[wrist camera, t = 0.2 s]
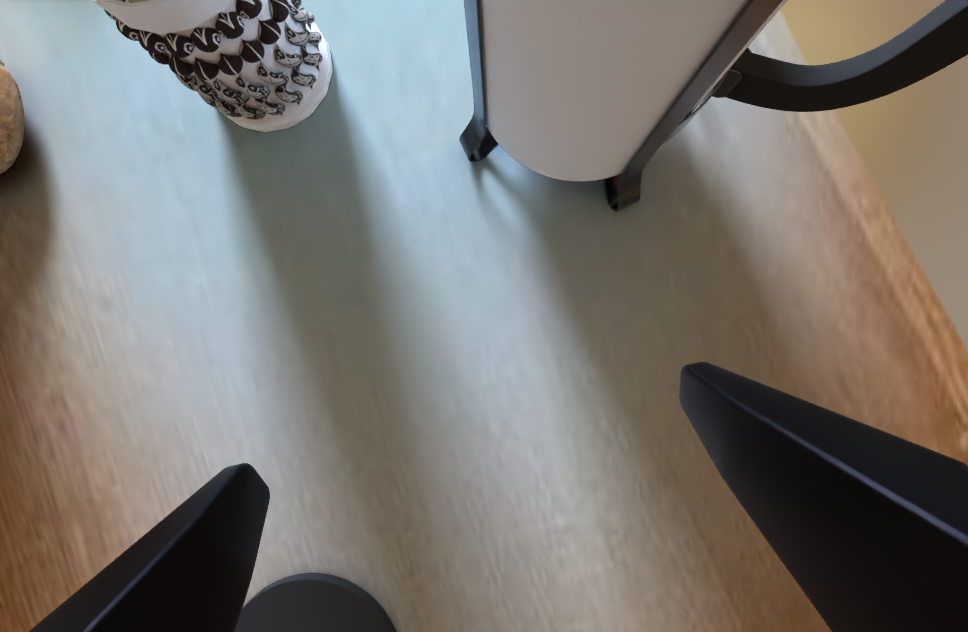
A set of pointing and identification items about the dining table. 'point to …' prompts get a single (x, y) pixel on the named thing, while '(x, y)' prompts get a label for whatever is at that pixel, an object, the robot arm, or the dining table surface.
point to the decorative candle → (236, 54)
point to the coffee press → (655, 77)
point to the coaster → (313, 607)
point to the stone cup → (10, 119)
